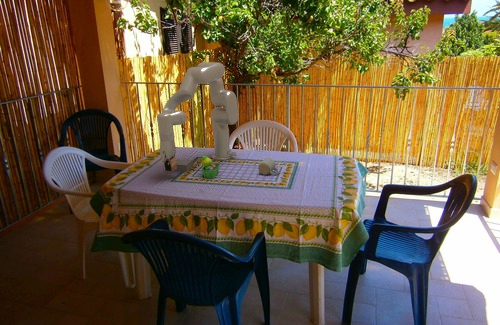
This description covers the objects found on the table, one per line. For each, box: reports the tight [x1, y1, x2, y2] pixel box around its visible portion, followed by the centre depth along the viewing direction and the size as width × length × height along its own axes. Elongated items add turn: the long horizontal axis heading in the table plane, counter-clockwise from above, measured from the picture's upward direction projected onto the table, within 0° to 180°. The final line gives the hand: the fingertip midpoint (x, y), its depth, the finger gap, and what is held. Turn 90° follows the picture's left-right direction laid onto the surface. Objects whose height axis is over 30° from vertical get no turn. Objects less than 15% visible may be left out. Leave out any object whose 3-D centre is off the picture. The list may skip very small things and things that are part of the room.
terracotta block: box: [162, 157, 177, 172], centre depth 203 cm, size 5×5×6 cm
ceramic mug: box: [257, 157, 280, 176], centre depth 207 cm, size 11×8×8 cm
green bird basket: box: [200, 155, 221, 179], centre depth 206 cm, size 11×9×11 cm
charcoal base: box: [173, 158, 194, 173], centre depth 219 cm, size 10×10×4 cm
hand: (170, 168), depth 203 cm, fingers closed on terracotta block, 5 cm apart
